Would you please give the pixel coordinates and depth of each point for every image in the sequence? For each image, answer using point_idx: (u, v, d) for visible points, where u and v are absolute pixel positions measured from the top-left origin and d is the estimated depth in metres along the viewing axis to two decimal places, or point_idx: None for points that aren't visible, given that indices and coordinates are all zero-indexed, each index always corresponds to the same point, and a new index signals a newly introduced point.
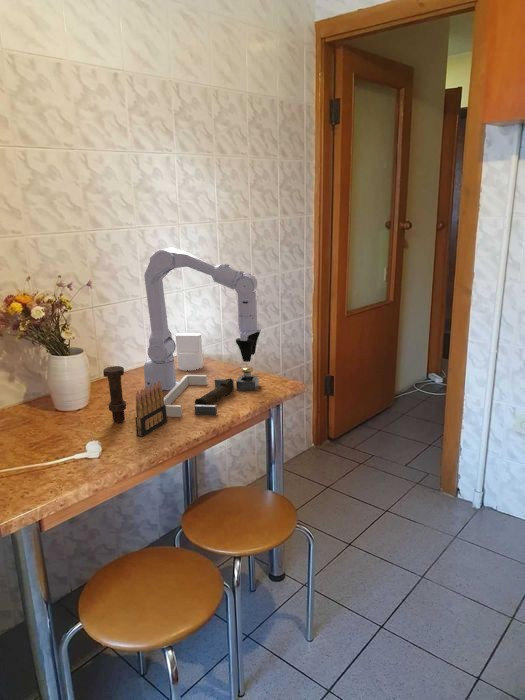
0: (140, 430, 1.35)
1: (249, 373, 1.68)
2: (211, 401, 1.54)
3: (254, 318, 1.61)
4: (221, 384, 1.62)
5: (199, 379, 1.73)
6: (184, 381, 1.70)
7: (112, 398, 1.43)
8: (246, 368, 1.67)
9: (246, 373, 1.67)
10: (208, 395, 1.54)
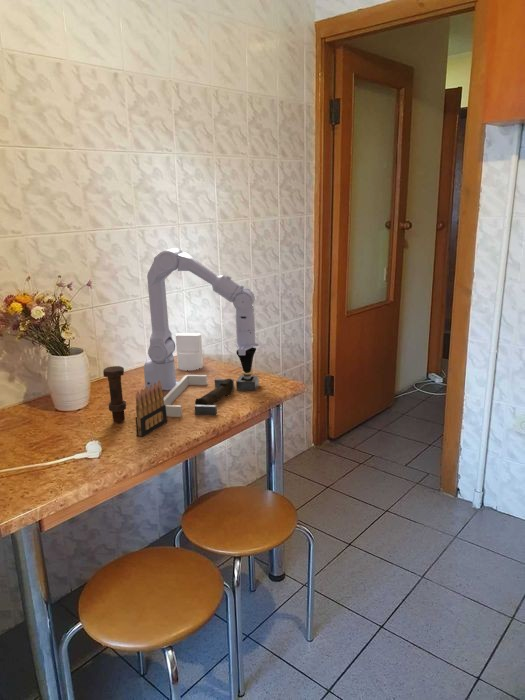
0: (140, 430, 1.35)
1: (249, 376, 1.68)
2: (211, 401, 1.54)
3: (252, 333, 1.63)
4: (221, 384, 1.62)
5: (199, 379, 1.73)
6: (184, 381, 1.70)
7: (112, 398, 1.43)
8: (246, 372, 1.68)
9: (246, 376, 1.68)
10: (208, 395, 1.54)
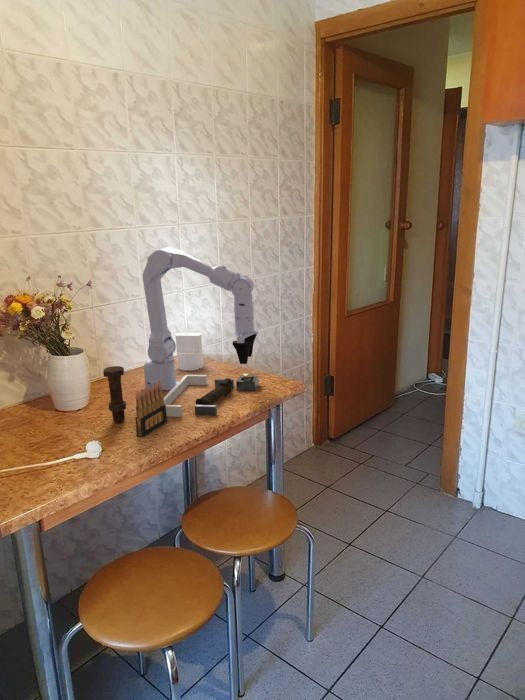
0: (140, 430, 1.35)
1: (249, 379, 1.68)
2: (212, 401, 1.54)
3: (250, 320, 1.61)
4: (220, 384, 1.62)
5: (199, 379, 1.73)
6: (184, 381, 1.70)
7: (112, 398, 1.43)
8: (246, 374, 1.68)
9: (246, 379, 1.68)
10: (208, 395, 1.54)
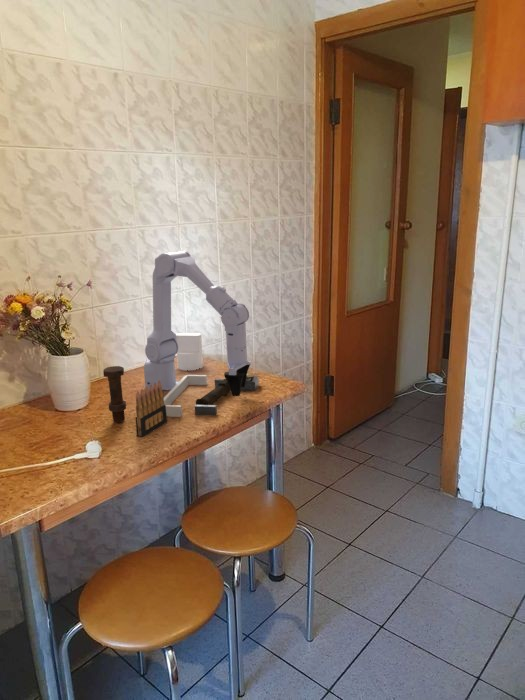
0: (140, 430, 1.35)
1: (249, 379, 1.68)
2: (212, 401, 1.54)
3: (243, 351, 1.53)
4: (220, 384, 1.62)
5: (199, 379, 1.73)
6: (184, 381, 1.70)
7: (112, 398, 1.43)
8: None
9: (246, 379, 1.68)
10: (209, 395, 1.54)
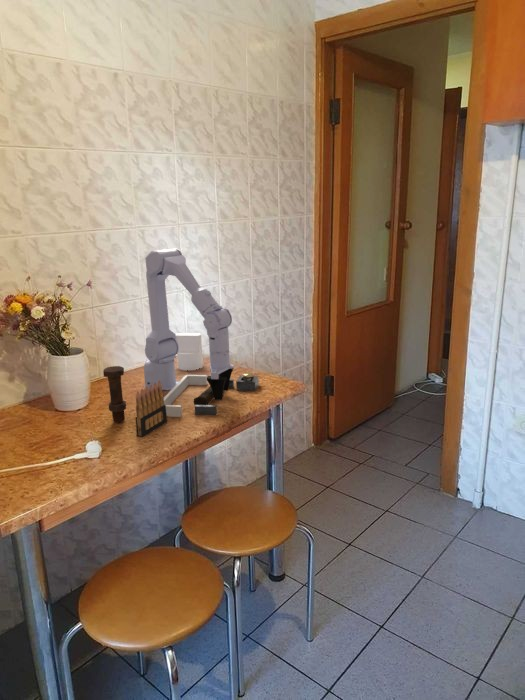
0: (140, 430, 1.35)
1: (249, 379, 1.68)
2: (209, 398, 1.54)
3: (226, 355, 1.54)
4: None
5: (199, 379, 1.73)
6: (184, 381, 1.70)
7: (112, 398, 1.43)
8: (246, 374, 1.68)
9: (246, 379, 1.68)
10: (204, 393, 1.54)
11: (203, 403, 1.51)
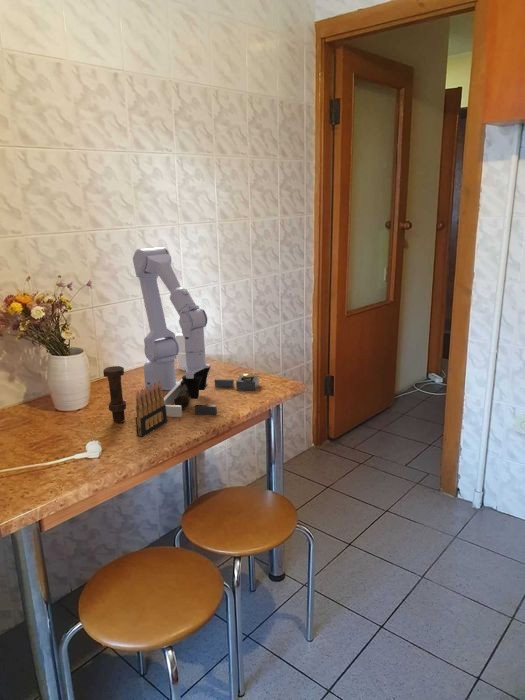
0: (140, 430, 1.35)
1: (249, 379, 1.68)
2: (187, 396, 1.55)
3: (201, 354, 1.55)
4: (182, 383, 1.63)
5: None
6: None
7: (112, 398, 1.43)
8: (246, 374, 1.68)
9: (246, 379, 1.68)
10: (181, 392, 1.55)
11: (184, 401, 1.51)
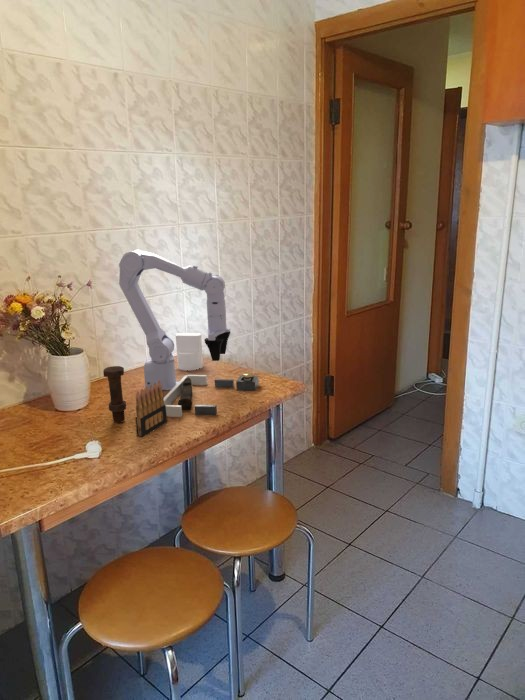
0: (140, 430, 1.35)
1: (249, 379, 1.68)
2: None
3: (222, 318, 1.65)
4: (185, 384, 1.63)
5: (199, 379, 1.73)
6: None
7: (112, 398, 1.43)
8: (246, 374, 1.68)
9: (246, 379, 1.68)
10: (186, 395, 1.55)
11: (188, 405, 1.52)
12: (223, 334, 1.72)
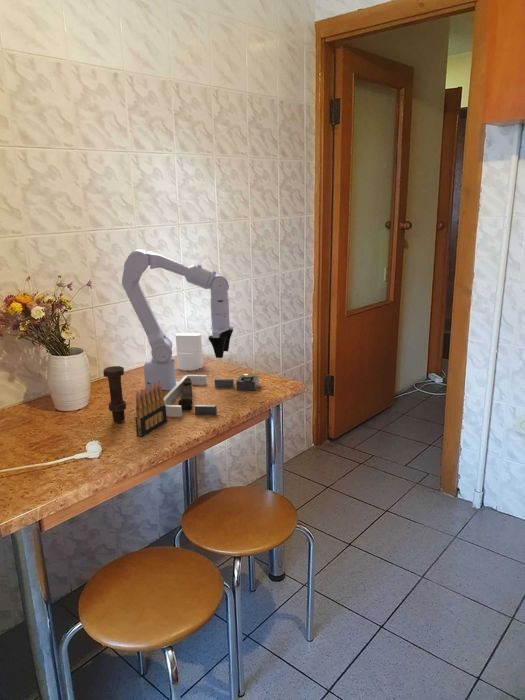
0: (140, 430, 1.35)
1: (249, 379, 1.68)
2: (191, 400, 1.55)
3: (226, 316, 1.68)
4: (185, 384, 1.63)
5: (199, 379, 1.73)
6: None
7: (112, 398, 1.43)
8: (246, 374, 1.68)
9: (246, 379, 1.68)
10: (187, 395, 1.55)
11: (189, 405, 1.52)
12: (226, 332, 1.75)
